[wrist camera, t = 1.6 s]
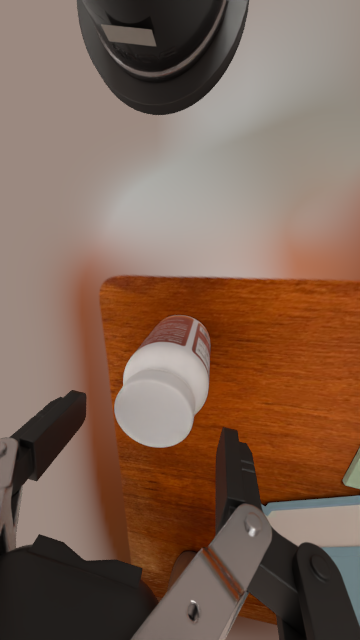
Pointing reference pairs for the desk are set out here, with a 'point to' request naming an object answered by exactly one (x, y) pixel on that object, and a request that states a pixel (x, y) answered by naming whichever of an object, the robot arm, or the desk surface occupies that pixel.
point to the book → (325, 533)
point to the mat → (353, 473)
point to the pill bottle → (165, 383)
